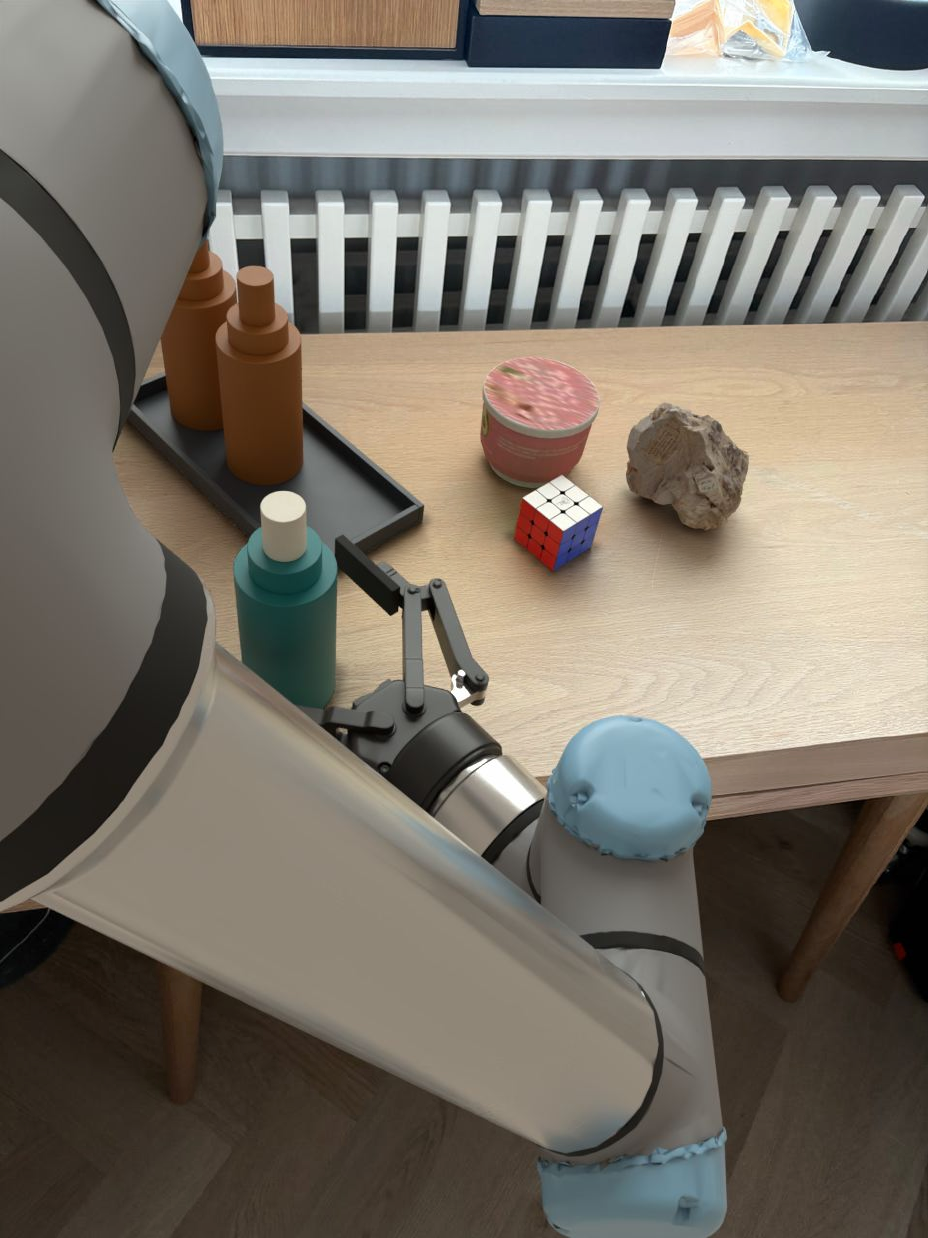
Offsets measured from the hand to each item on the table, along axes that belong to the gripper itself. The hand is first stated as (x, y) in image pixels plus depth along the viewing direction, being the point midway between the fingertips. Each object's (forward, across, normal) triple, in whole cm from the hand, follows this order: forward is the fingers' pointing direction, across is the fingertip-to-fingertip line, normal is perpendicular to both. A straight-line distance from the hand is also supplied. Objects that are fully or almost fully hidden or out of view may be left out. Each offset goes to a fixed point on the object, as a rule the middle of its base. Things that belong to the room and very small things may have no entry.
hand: (262, 590), depth 73 cm
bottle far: (+27, +13, -7) cm, 31 cm away
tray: (+18, +13, -8) cm, 24 cm away
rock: (-9, +40, -8) cm, 42 cm away
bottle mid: (+18, +13, -7) cm, 23 cm away
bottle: (-3, 0, -8) cm, 8 cm away
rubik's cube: (-5, +27, -8) cm, 29 cm away
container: (+4, +33, -8) cm, 34 cm away
